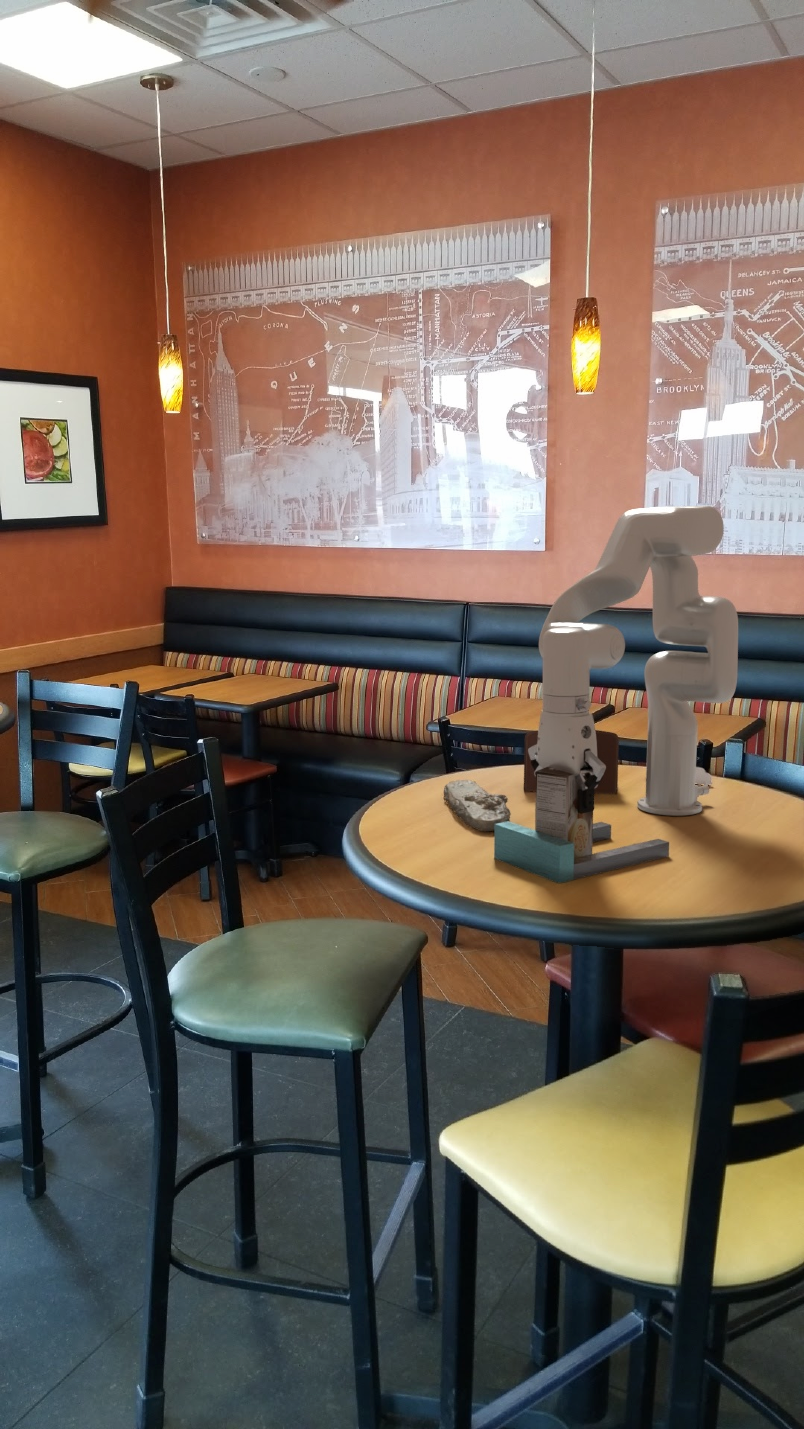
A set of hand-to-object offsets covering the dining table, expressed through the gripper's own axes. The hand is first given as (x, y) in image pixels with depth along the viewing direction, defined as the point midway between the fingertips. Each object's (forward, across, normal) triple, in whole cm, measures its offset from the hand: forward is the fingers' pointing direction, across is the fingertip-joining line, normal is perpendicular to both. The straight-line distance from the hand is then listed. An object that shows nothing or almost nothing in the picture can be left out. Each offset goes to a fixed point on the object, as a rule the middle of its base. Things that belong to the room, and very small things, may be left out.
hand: (565, 805), depth 172 cm
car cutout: (+12, +28, -61) cm, 68 cm away
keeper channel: (+10, 0, -4) cm, 10 cm away
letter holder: (+11, +39, -37) cm, 55 cm away
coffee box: (+10, 0, 0) cm, 10 cm away
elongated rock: (+11, +35, -8) cm, 38 cm away
